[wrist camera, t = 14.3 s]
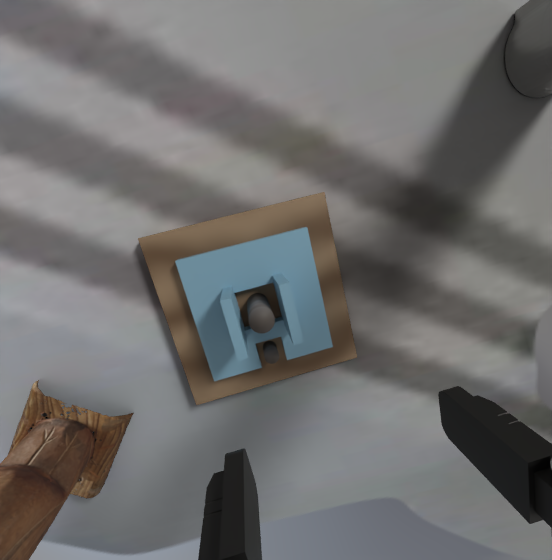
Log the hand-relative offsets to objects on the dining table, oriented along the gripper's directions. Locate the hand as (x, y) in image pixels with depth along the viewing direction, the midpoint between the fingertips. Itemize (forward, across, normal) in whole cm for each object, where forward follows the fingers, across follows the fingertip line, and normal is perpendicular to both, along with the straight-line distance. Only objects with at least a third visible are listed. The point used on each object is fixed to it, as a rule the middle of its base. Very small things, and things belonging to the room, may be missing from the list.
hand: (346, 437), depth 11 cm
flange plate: (+22, +2, 0) cm, 22 cm away
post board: (+23, +2, 0) cm, 24 cm away
